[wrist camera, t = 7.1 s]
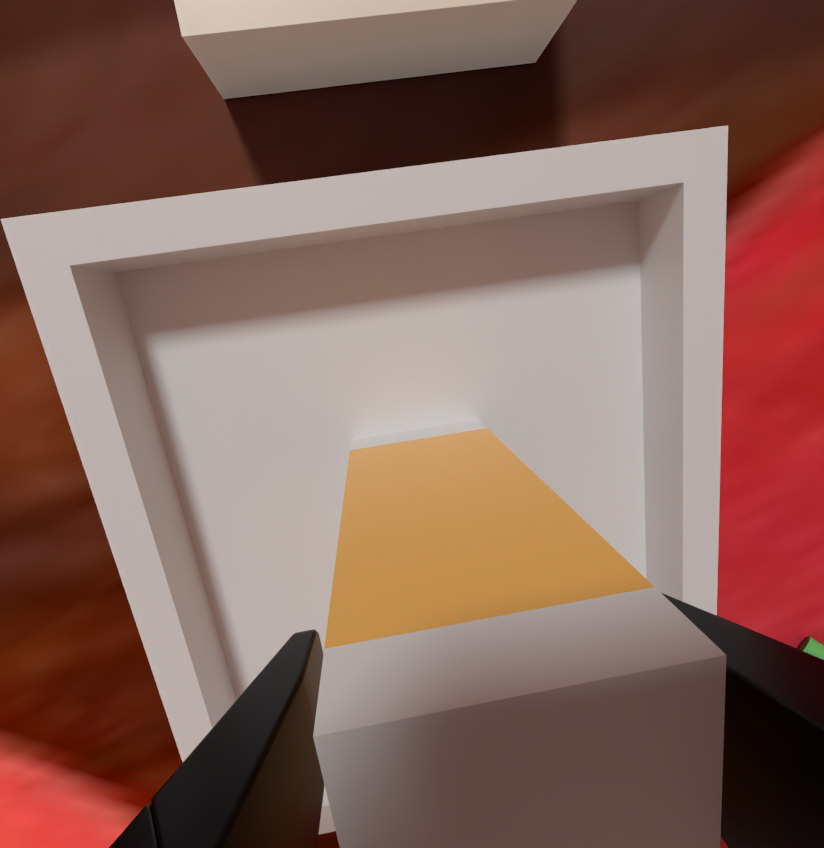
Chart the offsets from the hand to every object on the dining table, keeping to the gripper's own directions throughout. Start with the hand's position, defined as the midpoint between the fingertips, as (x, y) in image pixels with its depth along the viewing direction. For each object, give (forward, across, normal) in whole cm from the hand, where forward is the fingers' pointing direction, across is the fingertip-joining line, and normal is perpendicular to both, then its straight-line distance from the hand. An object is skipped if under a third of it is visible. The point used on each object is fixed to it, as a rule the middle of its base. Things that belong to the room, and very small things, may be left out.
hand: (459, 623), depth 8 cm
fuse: (+5, 0, 0) cm, 5 cm away
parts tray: (+5, 0, 0) cm, 5 cm away
